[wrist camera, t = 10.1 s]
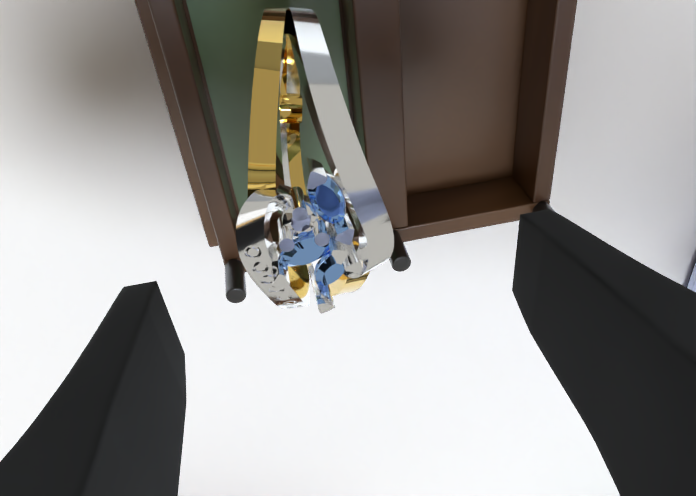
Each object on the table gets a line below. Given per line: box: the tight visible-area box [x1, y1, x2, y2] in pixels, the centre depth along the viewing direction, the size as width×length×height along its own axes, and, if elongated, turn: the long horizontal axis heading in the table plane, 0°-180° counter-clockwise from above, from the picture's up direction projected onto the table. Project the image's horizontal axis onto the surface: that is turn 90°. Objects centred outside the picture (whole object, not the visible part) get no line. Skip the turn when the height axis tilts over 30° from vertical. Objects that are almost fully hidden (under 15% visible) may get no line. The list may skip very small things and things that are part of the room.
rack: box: [135, 0, 577, 303], centre depth 17 cm, size 12×10×4 cm
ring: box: [236, 7, 394, 313], centre depth 15 cm, size 7×3×8 cm, turn 176°
